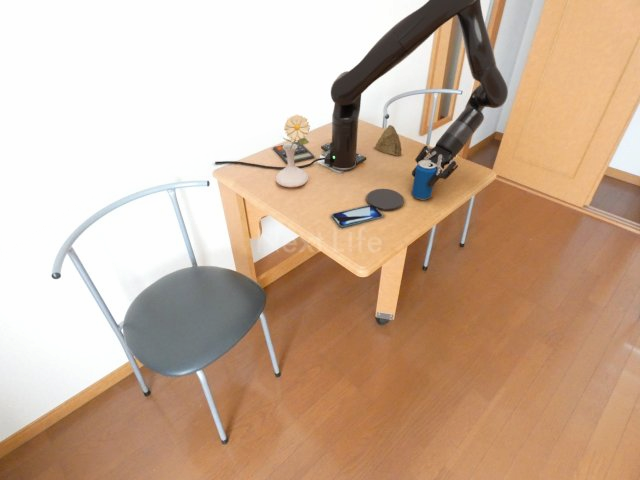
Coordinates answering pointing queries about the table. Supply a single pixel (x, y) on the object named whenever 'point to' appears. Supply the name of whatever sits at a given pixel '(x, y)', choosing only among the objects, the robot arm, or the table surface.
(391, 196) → the metal coaster
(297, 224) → the table surface
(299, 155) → the calculator
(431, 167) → the beverage can
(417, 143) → the table surface
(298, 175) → the flower in vase
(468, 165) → the table surface
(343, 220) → the smartphone
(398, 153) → the rock
